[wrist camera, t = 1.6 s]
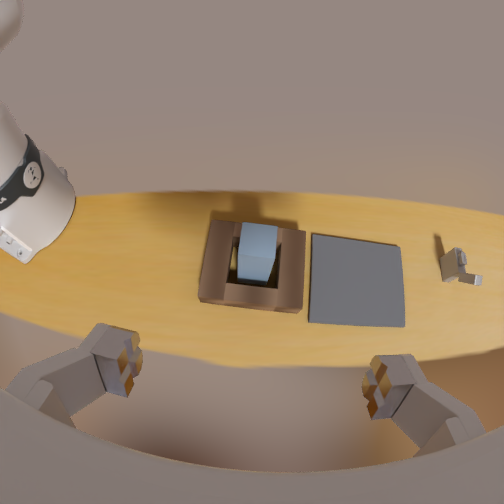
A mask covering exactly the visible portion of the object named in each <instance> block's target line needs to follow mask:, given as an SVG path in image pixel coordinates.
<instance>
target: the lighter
mask: <svg viewBox="0 0 504 504" xmlns="http://www.w3.org/2000/svg"><path fill="white" fill-rule="evenodd" d="M466 264H467V260H466V255H465V253H464V252H463V251H462V249H461V248H456V247H455V248H453V249H452V250H451V251H449V252H448V253H446V254H445V255H444V256H442V257H441V258H440V266H441V273H442V280H443V282H451V281H452V280H454V279H456V278H458V277H459V279H458V281H459V282H464V283H469V284H473V285H481V283H482V276H480V275H474V274H468V273H466V271H465V265H466Z"/></svg>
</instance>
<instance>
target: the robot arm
mask: <svg viewBox="0 0 504 504" xmlns="http://www.w3.org/2000/svg"><path fill="white" fill-rule="evenodd" d="M23 17H24V4H23V1H22V0H0V53H1V52H2V51H3V50H4V48H6V46H7V45H8V44H9V43H10V42H11V41H12V40H13V39H14V38H15V37H16V36H17V35H18V33H19V31H20V28H21V25H22V22H23ZM74 204H75V192H74V189H73V186H72V185H71V184H70V182H69V181H68V179H67V171H66V170H65V169H64V168H63V167H60V168H58V167H57V166H56V165H55V164H54V162H53V161H52V160H51V159H50V158H49V156H48V155H47V154H46V153H45V152H44V151H43V150H38V149H37V147H36V145H35V143H34V142H33V140H31V139H30V137H29V136H28V135H26V134H24V133H23V132H22V130H21V128H20V127H19V125H18V123H17V122H16V120H15V119H14V117H13V115H12V114H11V112H10V110H9V108H8V107H7V106H6V104H5V103H3V102H1V101H0V248H1V249H2V250H4V251H5V252H7V253H8V254H10V255H11V256H13V257H14V258H16V259H18V260H19V261H21V262H22V263H24V264H26V263H28V262H29V261H30V260H31V259H32V258H33V257H34V255H35V254H36V253H37V252H38V251H39V250H41V249H43V248H44V247H46V246H48V245H49V244H50V243H52V242H53V241H54V240H55V239H56V238H57V237H58V236H59V235H60V233H61V232H62V231H63V229H64V228H65V226H66V225H67V223H68V221H69V219H70V217H71V215H72V212H73V209H74ZM139 342H140V337H139V333H137V332H136V331H132V330H128V329H124V328H120V327H116V326H111V325H107V324H104V323H98V324H97V325H96V326H95V327H94V328H93V329H92V331H91V332H90V333H89V334H88V336H87V337H86V338H85V339H84V341H83V342H82V343H81V344H80V346H79V347H78V348H77V349H76V348H72V349H70V350H67V351H65V352H62V353H60V354H57V355H55V356H52V357H50V358H47V359H45V360H42V361H40V362H37V363H35V364H32V365H30V366H27V367H25V368H22V370H21V371H20V372H19V373H18V374H17V376H16V377H15V378H14V379H13V381H12V382H11V383H10V384H9V386H8V387H7V388H6V389H5V390H3V389H2V388H0V504H504V425H503V426H501V427H499V428H496V429H495V430H492V431H490V432H488V433H486V431H485V430H484V427H483V426H482V424H481V422H480V420H479V418H478V417H477V414H476V413H475V411H474V410H473V409H471V408H470V407H468V406H467V405H465V404H464V403H462V402H460V401H459V400H458V399H456V398H455V397H453V396H451V395H450V394H448V393H447V392H445V391H444V390H442V389H441V388H439V387H438V386H436V385H435V384H433V383H432V382H430V383H428V381H427V379H426V377H425V376H424V374H423V372H422V370H421V368H420V367H419V365H418V363H417V361H416V360H415V358H414V356H413V355H411V354H400V355H377V356H374V357H373V358H372V360H371V362H370V365H371V369H370V370H369V371H367V372H366V373H365V375H364V378H363V381H362V392H363V396H364V397H365V398H366V399H367V400H368V401H369V402H368V404H367V408H368V412H369V415H370V418H371V420H375V419H386V418H391V419H392V420H393V422H394V423H396V425H397V426H399V428H400V429H401V430H402V431H403V432H404V433H405V434H406V435H407V436H408V437H409V438H410V439H411V440H412V441H413V442H414V443H415V444H416V445H417V446H418V447H420V450H419V451H418V452H417V453H416V454H415V455H414V456H413V458H409V459H405V460H401V461H396V462H391V463H386V464H380V465H375V466H368V467H361V468H354V469H345V470H334V471H320V472H259V471H245V470H234V469H225V468H216V467H210V466H203V465H197V464H191V463H186V462H181V461H176V460H172V459H167V458H163V457H159V456H155V455H150V454H147V453H143V452H140V451H136V450H133V449H130V448H126V447H123V446H120V445H117V444H114V443H111V442H108V441H106V440H103V439H100V438H98V437H95V436H93V435H90V434H87V433H85V432H82V431H80V430H78V429H77V428H76V426H75V425H74V423H73V421H72V420H71V418H70V416H72V415H74V414H75V413H77V412H78V411H80V410H81V409H83V408H84V407H86V406H87V405H88V404H90V403H92V402H93V401H95V400H96V399H98V398H99V397H101V396H102V395H104V394H105V393H106V392H109V393H113V394H116V395H120V396H123V397H128V396H129V393H130V392H131V390H132V387H133V385H134V382H133V378H135V377H136V376H138V375H139V373H140V371H141V367H142V363H143V355H142V350H141V349H140V348H139V347H138V344H139Z"/></svg>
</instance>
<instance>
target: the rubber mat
mask: <svg viewBox="0 0 504 504" xmlns="http://www.w3.org/2000/svg"><path fill="white" fill-rule="evenodd" d="M308 322H309V323H322V324H337V325H354V326H376V327H405V302H404V284H403V271H402V260H401V251H400V247H396V246H390V245H384V244H377V243H370V242H364V241H357V240H350V239H343V238H336V237H329V236H322V235H315V234H313V235H312V250H311V280H310V301H309V319H308Z"/></svg>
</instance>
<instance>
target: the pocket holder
mask: <svg viewBox="0 0 504 504" xmlns="http://www.w3.org/2000/svg"><path fill="white" fill-rule="evenodd" d="M241 230H242V223H237V222H229V221H220V220H212V222H211V226H210V231H209V237H208V242H207V247H206V252H205V257H204V263H203V268H202V274H201V279H200V285H199V291H198V298H199V300H200V302H204V303H211V304H218V305H225V306H233V307H241V308H249V309H258V310H267V311H276V312H286V313H296V314H297V313H298V312H299V311H300V310H301V309H302V306H303V289H304V269H305V242H306V231H301V230H294V229H286V228H278V229H277V241H276V252H278V263H277V275H276V287H275V289H273V288H264V287H256V286H247V285H239V284H231V283H228V279H229V272H230V265H231V259H232V252H233V247H239V244H240V237H241Z"/></svg>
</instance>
